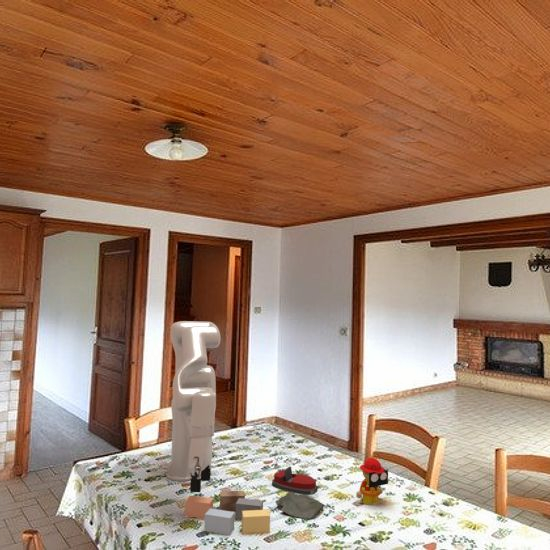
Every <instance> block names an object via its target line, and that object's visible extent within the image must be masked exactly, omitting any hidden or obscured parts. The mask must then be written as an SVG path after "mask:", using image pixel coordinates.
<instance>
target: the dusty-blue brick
mask: <svg viewBox="0 0 550 550" xmlns="http://www.w3.org/2000/svg"><path fill="white" fill-rule="evenodd" d="M235 514H236V511H224V510H220V509H216V508H213V509H209V510H208V511H207V512H206V514H205V519H204V524H203V525H204V526H203V527H204V528H203V531H204V532H206V531H208V532H207V533H212V532H213V534H220V535H224V534H225V536H230V535H231V534H232V533H233V531H234V530H235V520H236V519H235Z"/></svg>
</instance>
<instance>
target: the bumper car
mask: <svg viewBox="0 0 550 550" xmlns="http://www.w3.org/2000/svg"><path fill="white" fill-rule="evenodd" d="M269 457H270V458H274V460H275V462H276V467H277V471H276V472H274V474H273V479H272V481H271V486H272V487H274V488H276V489H279V490H282V491H285V492H287V493H288V492H293V493H294V494H299V495H302V494H305V495H309V496H311V495H314V494H315V493H316V492H317V491H318V486H317V481H316V479H315V478H313V477H312V476H310V475H307V474H303V473H293V471H292V466H290V465H289V466H287V467H286V468H285V469H280V470H279V463H278V460H277V458H276V457H275V456H274V455H272V454H269Z"/></svg>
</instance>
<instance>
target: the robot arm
mask: <svg viewBox="0 0 550 550" xmlns="http://www.w3.org/2000/svg"><path fill="white" fill-rule="evenodd" d="M170 339H171V340H170V341H171V344H172V347H173V350H174V354H175V366H174V367H175V368H174V370H175V373H174V377H173V380H172V398H171V403H170V405H171V419H172V428H171V432H172V434H171V450H170V451H171V456H170V457H171V458H170V462H167V461H162V462H161V463H160V464H161V465H160V466H161V469H162V470H167V471H166V472H165V473H166V475H165V476H166V478H167V479H168V478H169V479H168V480H170V479H171V480H170V481H174V480H175V481H176V482H186V481H190V486H189V490H190V491H189V492H191V493H201V489H202V488H201V487H202V481H204V482H210V481H211V476H212V475H211V470H212V468H211V467H212V460H213V459H212V458H213V437H214V436H215V424H216V423H215V420H216V418H215V416H216V415H215V414H216V408H217V394H216V393H217V387H216V386H217V385H216V384H217V383H216V380H217V379H216V371H215V369H214V368H213V366H212V365H208V354H207V349H216V348H218V347H219V346H220V344H221V339H222V338H221V333H220V329H219V327H218V326H217V325H216V324H215V323H214V322H211V321H198V320H197V321H195V320H193V321H191V320H190V321H189V320H188V321H187V320H183V321H182V320H180V321H177V322H176V321H175V322H174V323H173V324H171V326H170Z"/></svg>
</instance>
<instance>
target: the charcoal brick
mask: <svg viewBox="0 0 550 550" xmlns="http://www.w3.org/2000/svg"><path fill="white" fill-rule="evenodd" d="M249 510H264V500H261V499H250V498H245V499H242V498H239V499H238V501H237V502H236V511H235V520H236V519H238V521H242V511H249Z"/></svg>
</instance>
